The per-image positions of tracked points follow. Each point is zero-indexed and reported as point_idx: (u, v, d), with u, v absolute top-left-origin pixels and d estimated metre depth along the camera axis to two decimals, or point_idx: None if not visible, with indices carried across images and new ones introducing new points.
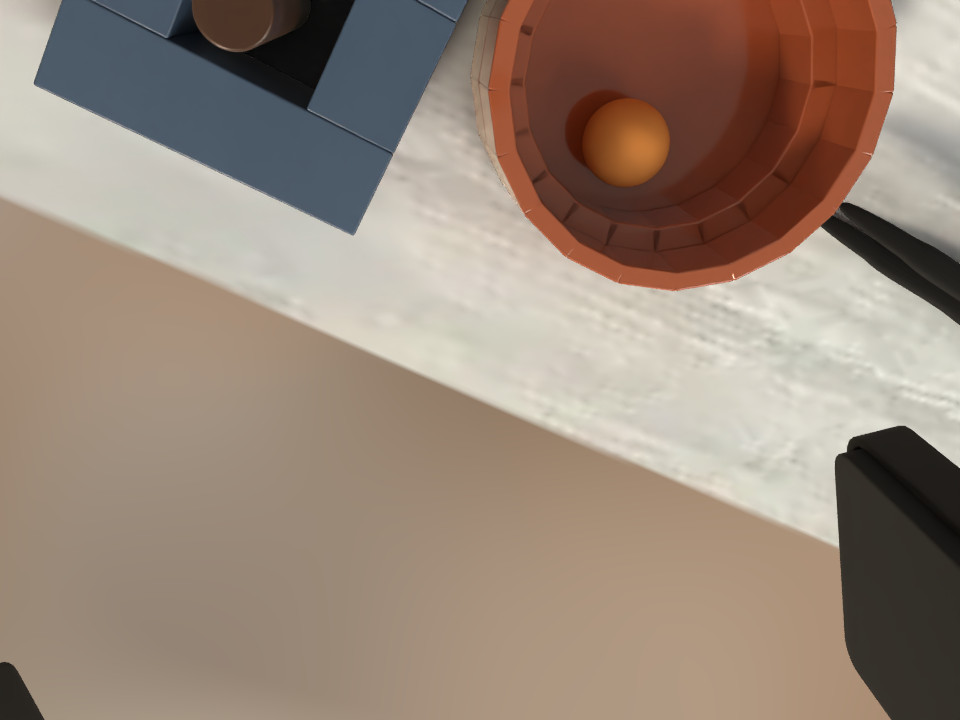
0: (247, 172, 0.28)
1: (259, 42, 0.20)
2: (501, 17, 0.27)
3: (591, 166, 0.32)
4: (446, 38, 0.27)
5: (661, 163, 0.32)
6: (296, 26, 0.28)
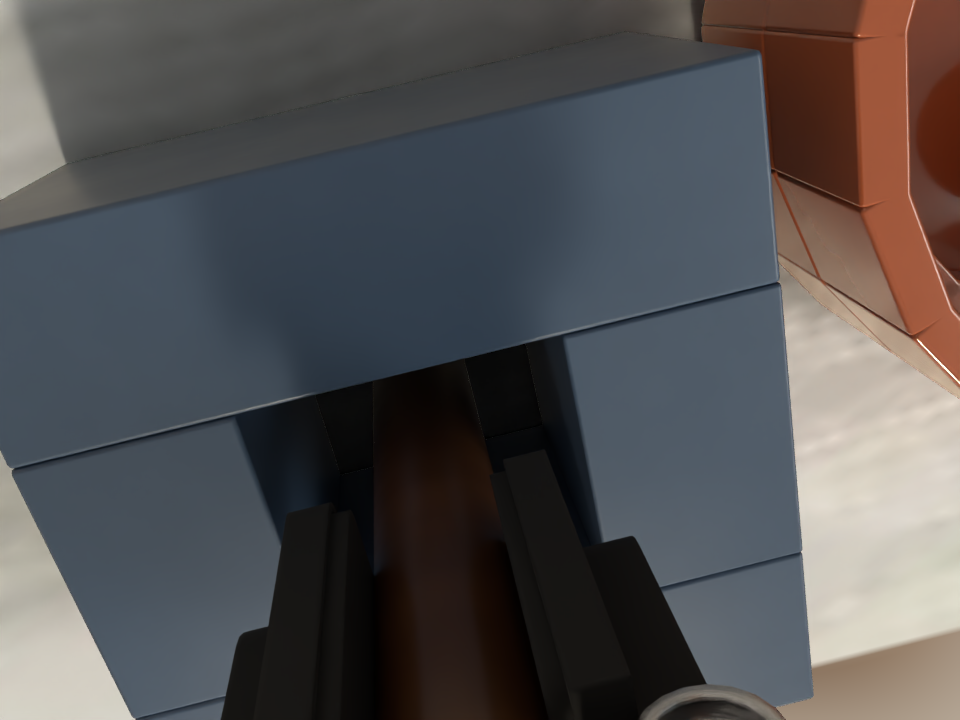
0: None
1: None
2: (861, 204, 0.11)
3: None
4: (780, 322, 0.12)
5: None
6: None
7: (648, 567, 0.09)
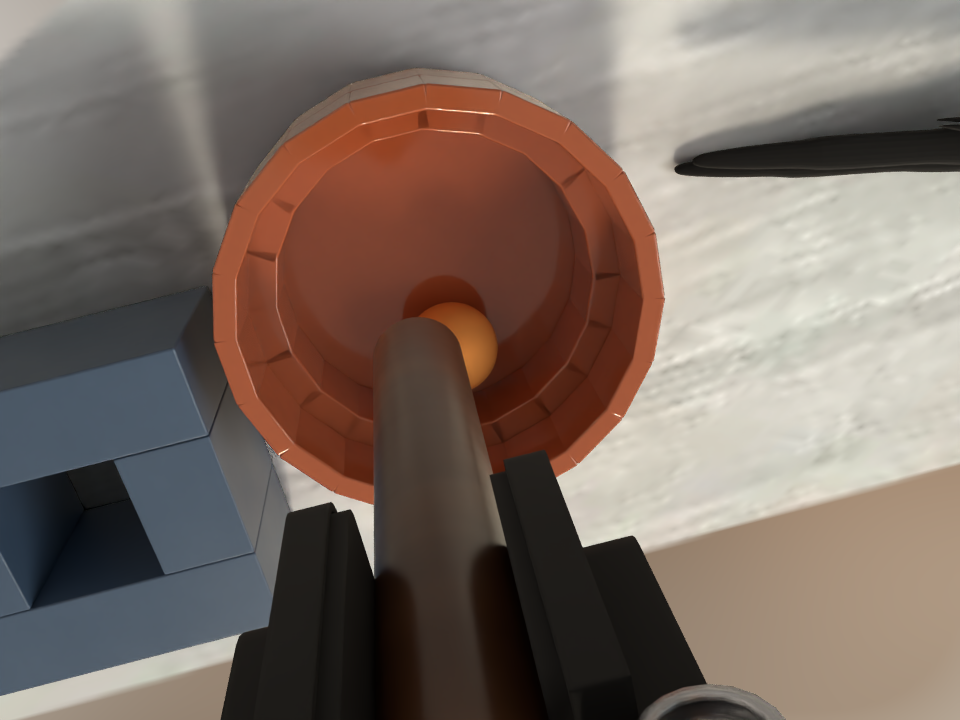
0: (167, 643, 0.29)
1: None
2: (237, 403, 0.27)
3: None
4: (212, 452, 0.27)
5: (490, 349, 0.30)
6: None
7: (648, 566, 0.09)
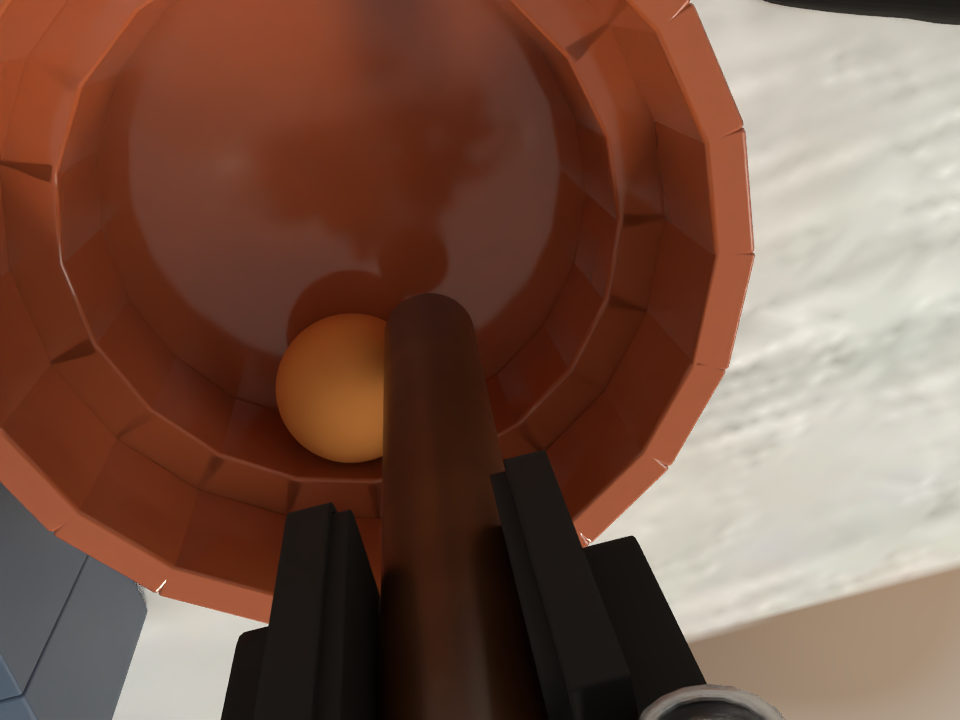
0: None
1: None
2: None
3: None
4: None
5: None
6: None
7: (648, 567, 0.09)
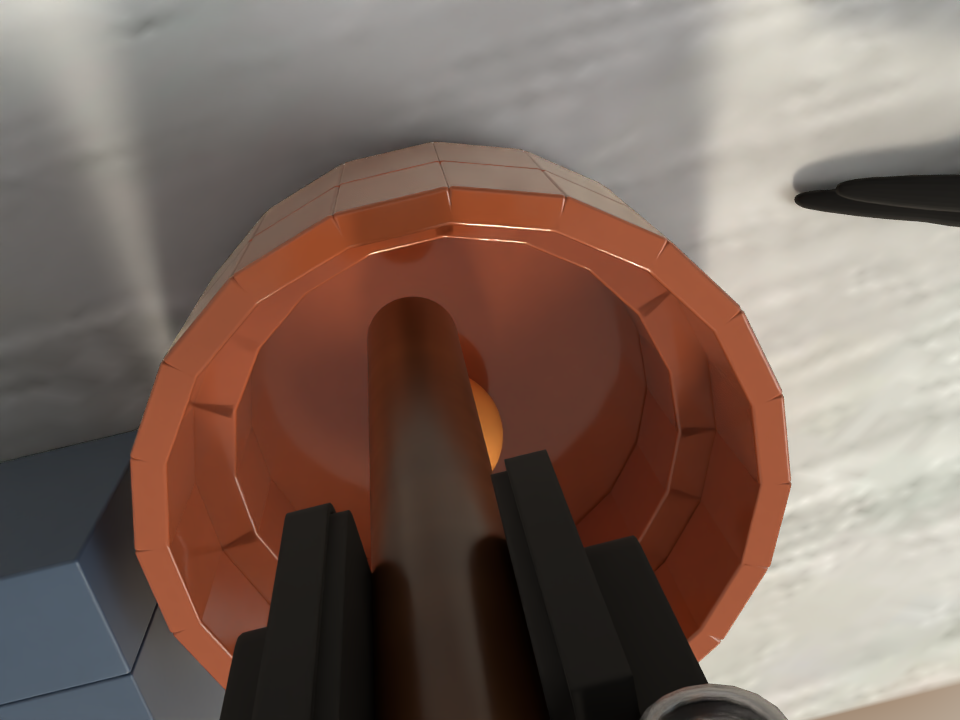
0: None
1: None
2: (171, 631, 0.18)
3: (489, 446, 0.21)
4: (136, 695, 0.19)
5: None
6: None
7: (649, 566, 0.09)
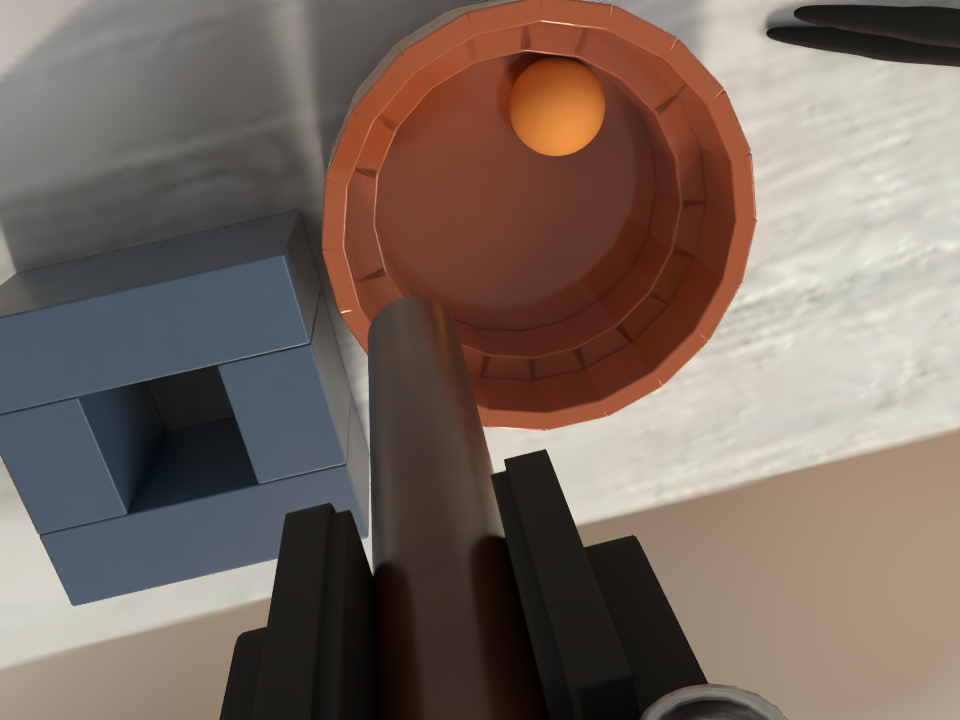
0: (256, 554, 0.30)
1: None
2: (340, 312, 0.27)
3: None
4: (312, 360, 0.28)
5: (538, 152, 0.30)
6: None
7: (649, 566, 0.09)
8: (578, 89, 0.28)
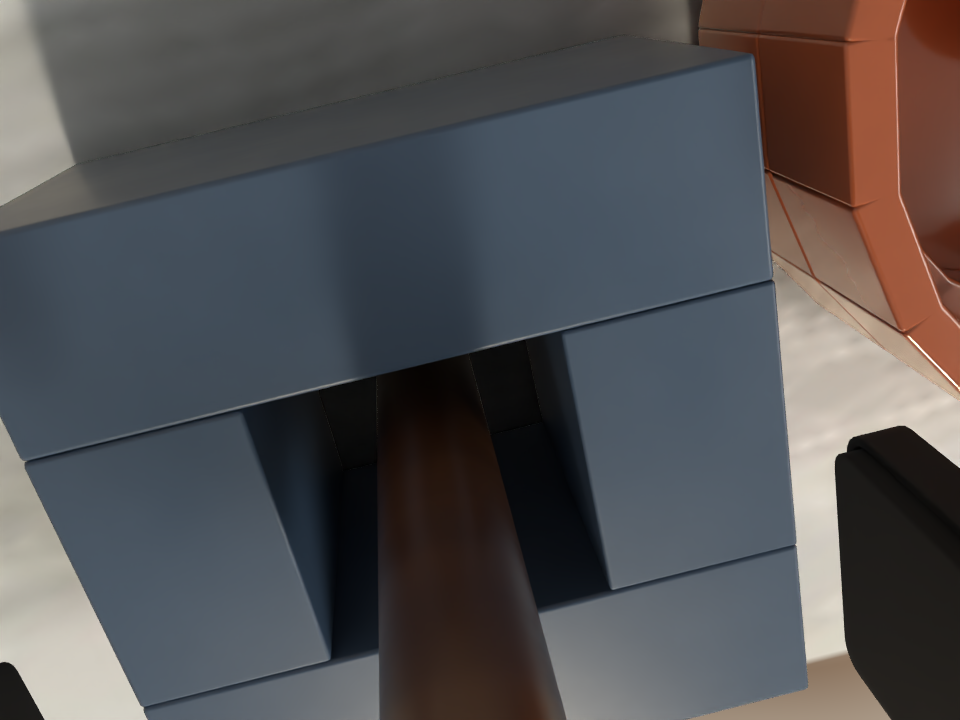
0: None
1: None
2: (852, 204, 0.12)
3: None
4: (774, 319, 0.12)
5: None
6: None
7: None
8: None
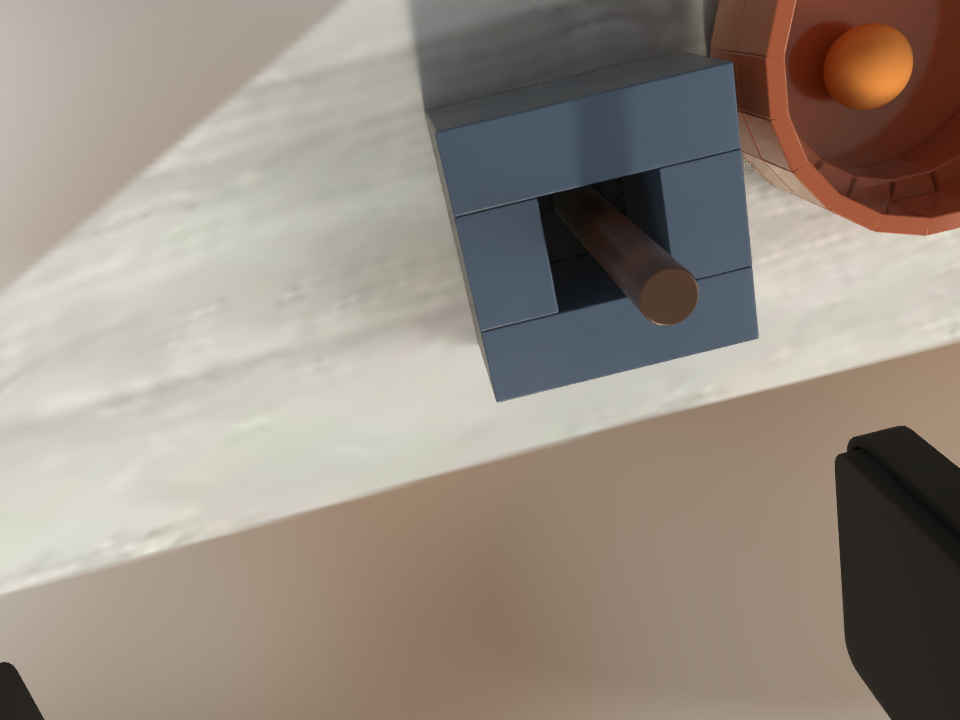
0: (661, 353, 0.34)
1: (696, 305, 0.25)
2: (770, 118, 0.31)
3: (902, 84, 0.33)
4: (741, 164, 0.31)
5: None
6: None
7: None
8: None
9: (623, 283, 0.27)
